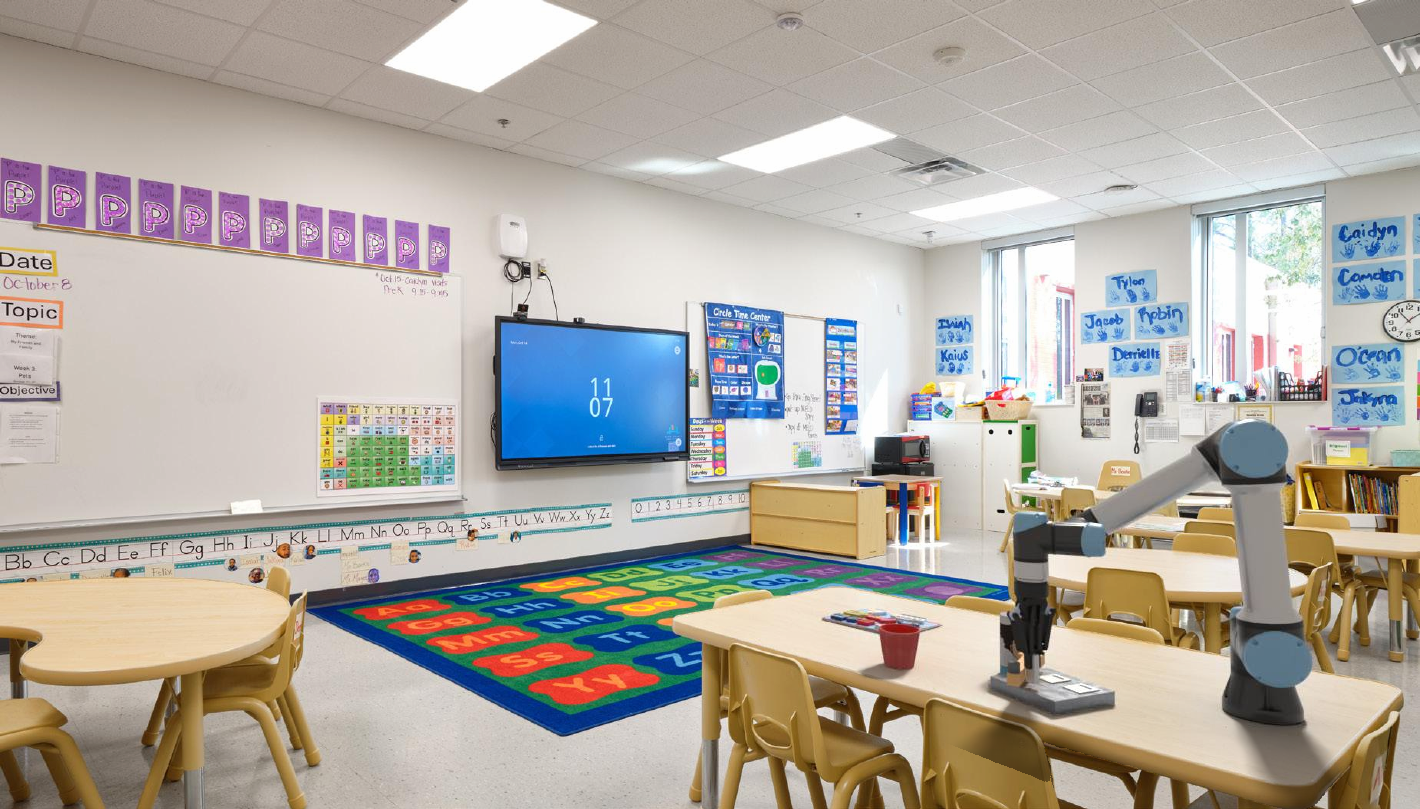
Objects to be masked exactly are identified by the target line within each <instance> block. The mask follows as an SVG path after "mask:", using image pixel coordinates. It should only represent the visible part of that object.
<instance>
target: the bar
mask: <svg viewBox="0 0 1420 809" xmlns="http://www.w3.org/2000/svg"><path fill="white" fill-rule="evenodd" d="M1045 656H1046V653H1045V654H1044V655H1041V667H1040V668H1039V669H1041V668H1043V667H1044V666H1045V664H1046V661H1045V660H1046V657H1045ZM1025 679H1026V668H1025V667H1024V654H1023V653H1022V652H1019V653H1018V661H1008V672H1007V685H1010V686H1016V687H1019V686H1020V685H1021V684H1022V683H1023V682H1024V680H1025Z"/></svg>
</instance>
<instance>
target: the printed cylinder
mask: <svg viewBox="0 0 1420 809" xmlns="http://www.w3.org/2000/svg"><path fill="white" fill-rule="evenodd" d="M1018 653H1019V651H1017V650H1016V646H1015V641H1014V636H1013V632H1012V627H1011V622H1010V620H1009V618H1008V616H1007V611H1002V612H1000V613H999V675H1001V674H1007V672H1008V661H1018Z"/></svg>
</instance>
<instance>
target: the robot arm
mask: <svg viewBox="0 0 1420 809" xmlns="http://www.w3.org/2000/svg"><path fill="white" fill-rule="evenodd" d="M1190 450H1191V451H1190V452H1189V453H1187V454H1185V455H1184V456H1182V457H1180V458H1178V459H1176V460H1175V461H1172V462H1171V463H1169V464H1167V465H1166V466H1164V467H1162V468H1160V469H1158V470H1156V471H1154V472H1153V473H1151V474H1149V475H1146V476H1145V477H1143V478H1142V479H1140V480H1138V481H1136V482H1135V483H1133V484H1131V485H1129V486H1127V487H1125V488H1123V489H1121V490H1120V491H1118V492H1116V493H1114V494H1113V495H1111V496H1109V497H1107V498H1105V499H1103V500H1102V501H1099V502H1098V503H1096V504H1095V505H1092V506H1091V507H1089V508H1088V509H1085V510H1083V511H1082V512H1080V513H1078V514H1075V515H1071V516H1070V517H1068V518H1067V519H1066V520H1065V521H1053V520H1049V517H1048V514H1047V512H1045V511H1036V510H1035V511H1034V510H1025V511H1023V510H1022V511H1021V510H1020V511H1017V512H1016V513H1014V515H1013V524H1012V525H1013V529H1012V546H1013V576H1014V578H1015V579H1014V580H1013V595H1014V596H1015V598H1016V599H1015V600H1016V601H1015V604H1014V608H1013V609H1012V610H1007V611H1006V612H1007V616H1008V618H1009V620H1010V622H1011V627H1012V632H1013V636H1014V641H1015V646H1016V650H1017V651H1019V652H1022V653H1023V654H1024V667H1025V668H1026V682H1029V683H1032V684H1034V685H1036V684H1039V668H1040V667H1041V655H1044V654H1045V655H1046V652H1047V651H1048V650H1049V644H1050V639H1051V633H1052V627H1053V621H1054V617H1055V615H1056V612H1057V609H1056V608H1055V607H1051V606H1050V605H1049V602H1048V600H1047V598H1049V596H1050V586H1049V585H1050V582H1049V581H1048V580H1049V579H1050V575H1049V574H1050V573H1049V572H1050V570H1049V567H1050V566H1049V565H1050V563H1049V555H1055V556H1058V555H1059V556H1060V555H1061V556H1073V557H1084V558H1085V557H1086V558H1092V557H1093V558H1102V557H1104V556H1105V555H1106V554H1107V551H1106V550H1107V549H1106V548H1107V546H1106V545H1107V543H1106V541H1107V540H1106V538H1107V537H1109V536H1111V535H1112V534H1114V533H1116V532H1119V531H1120V530H1122V529H1125V528H1126V527H1128V526H1129V525H1131V524H1133V523H1135V522H1138V521H1139V520H1141V519H1143V518H1145V517H1147V516H1148V515H1150V514H1152V513H1155V512H1156V511H1159V510H1160V509H1161V508H1164V507H1166V506H1168V505H1170V504H1171V503H1173V502H1175V501H1177V500H1179V499H1181V498H1183V497H1185V496H1187V495H1188V494H1190V493H1192V492H1194V491H1196V490H1198V489H1200V488H1202V487H1204V486H1206V485H1208V484H1209V483H1212V482H1214V483H1220V484H1221V486H1222V487H1223V488H1224V489H1225V490H1227V491H1228V492H1229V494H1230V497H1231V498H1230V499H1231V506H1232V508H1231V509H1232V516H1233V526H1234V533H1235V542H1236V551H1237V552H1236V554H1237V561H1238V571H1239V578H1240V580H1239V581H1240V588H1241V596H1242V606H1233V607H1231V609H1230V611H1229V618H1228V622H1229V625H1230V626H1229V634H1230V635H1229V637H1230V639H1229V642H1230V646H1229V647H1230V653H1229V654H1230V660H1229V661H1230V673H1229V674H1230V675H1229V678H1228V679H1227V683H1226V685H1225V687H1224V690H1223V693H1222V695H1221V709H1222V710H1224V711H1225V712H1226V713H1228V714H1231V715H1233V716H1236V717H1238V718H1241V719H1245V720H1247V721H1253V722H1257V723H1262V724H1263V723H1264V724H1269V725H1270V724H1271V725H1279V726H1281V725H1282V726H1284V725H1287V726H1290V725H1291V726H1292V725H1298V724H1297V723H1299V724H1301V723H1303V722H1305V710H1304V709H1305V708H1304V706H1303V704H1302V700H1301V699H1300V696H1299V693H1298V691H1297V690H1298V689H1297V688H1296V686H1298V685H1299V684H1301V683H1304V681H1305V680H1306V679H1307V678H1308V677H1309V676H1310V675H1311V672H1312V669H1313V666H1314V665H1313V654H1312V653H1311V650H1310V648H1309V646H1308V645H1307V640H1306V633H1305V632H1306V631H1305V624H1304V617H1303V616H1302V615H1301V614H1299V613H1298V612H1297V611H1296V610H1295V608H1294V607H1293V605H1294V604H1293V597H1292V596H1293V595H1292V590H1291V579H1290V578H1291V577H1290V572H1289V571H1290V570H1289V563H1288V554H1287V544H1286V536H1285V535H1286V534H1285V527H1284V516H1283V509H1282V501H1281V490H1283V488H1285V486H1286V485H1287V484H1288V476H1287V475H1288V473H1287V464H1286V463H1287V460H1288V457H1289V444H1288V441H1287V439H1286V437H1285V435H1284V434H1283V433H1282V432H1281V430H1280V429H1279V428H1278V427H1276V426H1275V425H1274V424H1271V423H1270V422H1268V421H1265V420H1262V419H1257V418H1246V419H1237V420H1232V421H1230V422H1227V423H1225V424H1224V425H1222V426H1221V427H1219V428H1218V429H1217V430H1215V432H1213V433H1211V435H1209V436H1207V437H1206V438H1204V439H1202V440H1201V441H1199V442H1197V443H1196V444H1194V445H1192V446H1191V449H1190ZM1045 651H1046V652H1045ZM1300 722H1301V723H1300Z"/></svg>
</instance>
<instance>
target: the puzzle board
mask: <svg viewBox="0 0 1420 809" xmlns="http://www.w3.org/2000/svg"><path fill="white" fill-rule="evenodd" d="M821 619H822V621H825V622H829V623H832V624H833V623H834V624H837V625H841V626H846V627H849V628H850V627H851V628H854V629H858V630H864V631H867V632H871V633H874V634H875V633H877V634H879V626H881V625H884V624H906V625H912V626H915V627H917V628H919V629H920V633H923V632H927V631H930V630H934V629H937V628H941V627H940V626H942V627H943V624H941V623H938V622H931V621H927V618H925V617H919V616H915V615H910V614H905V613H900V614H891V613H887V610H884V609H879V608H871V609H868V608H867V609H860V610H854V609H853V610H852V609H850V610H845V611H843V613H839V612H835V613H832V614H830V615H829V616H824V617H821ZM926 630H927V631H926Z"/></svg>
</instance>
